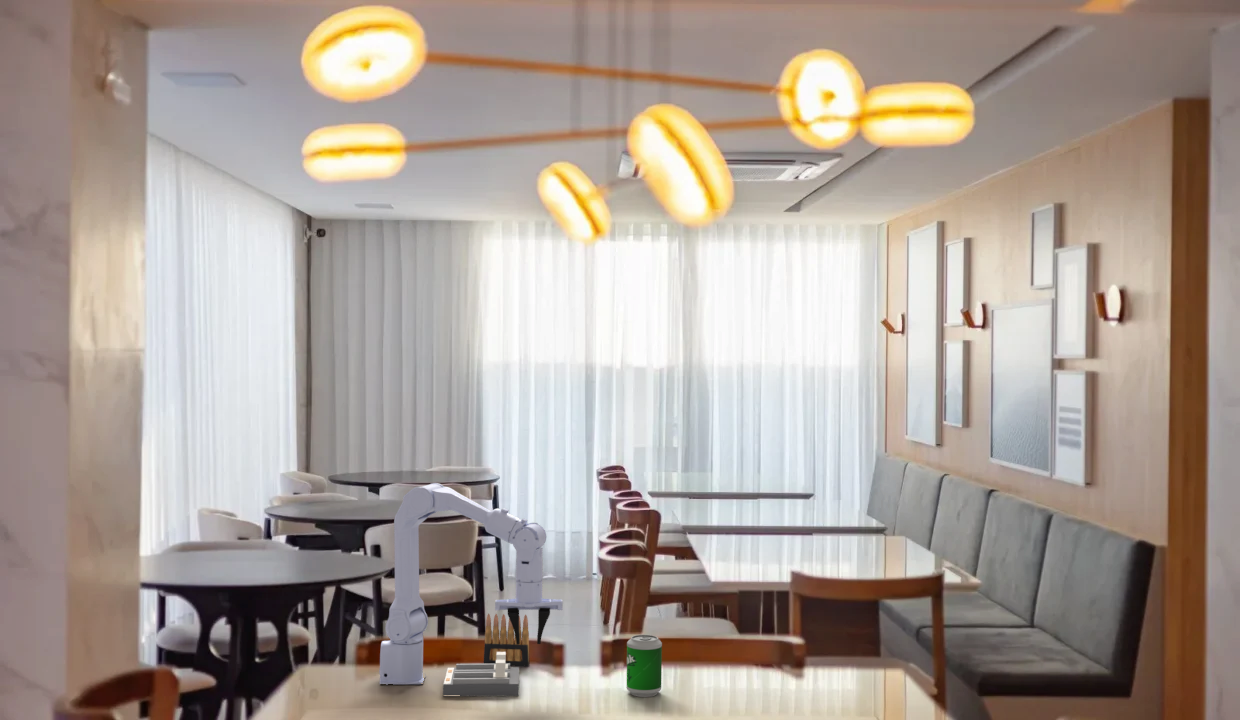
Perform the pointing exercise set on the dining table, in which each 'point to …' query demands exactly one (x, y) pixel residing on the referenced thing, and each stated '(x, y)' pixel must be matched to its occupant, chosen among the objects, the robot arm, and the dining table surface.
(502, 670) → the tab near
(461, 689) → the switch bank
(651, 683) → the soda can
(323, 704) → the dining table surface
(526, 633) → the ammunition clip
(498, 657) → the tab far
